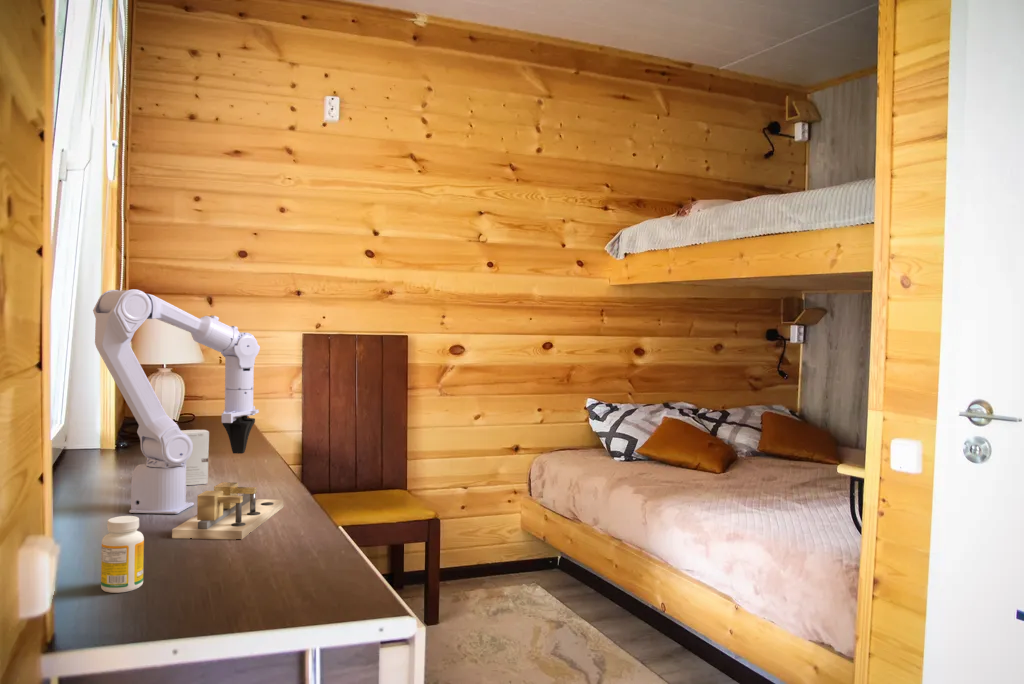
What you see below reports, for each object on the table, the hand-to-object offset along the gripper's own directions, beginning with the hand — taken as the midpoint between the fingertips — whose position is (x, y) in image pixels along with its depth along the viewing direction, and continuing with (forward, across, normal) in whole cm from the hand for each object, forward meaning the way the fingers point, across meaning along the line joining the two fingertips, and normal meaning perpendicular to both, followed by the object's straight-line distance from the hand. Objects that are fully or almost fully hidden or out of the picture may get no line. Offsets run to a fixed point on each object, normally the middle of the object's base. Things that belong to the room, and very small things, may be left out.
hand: (238, 453), depth 169 cm
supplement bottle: (+10, -57, -4) cm, 58 cm away
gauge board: (+9, -20, -6) cm, 23 cm away
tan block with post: (+7, -20, -7) cm, 23 cm away
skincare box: (+10, +13, +15) cm, 22 cm away
